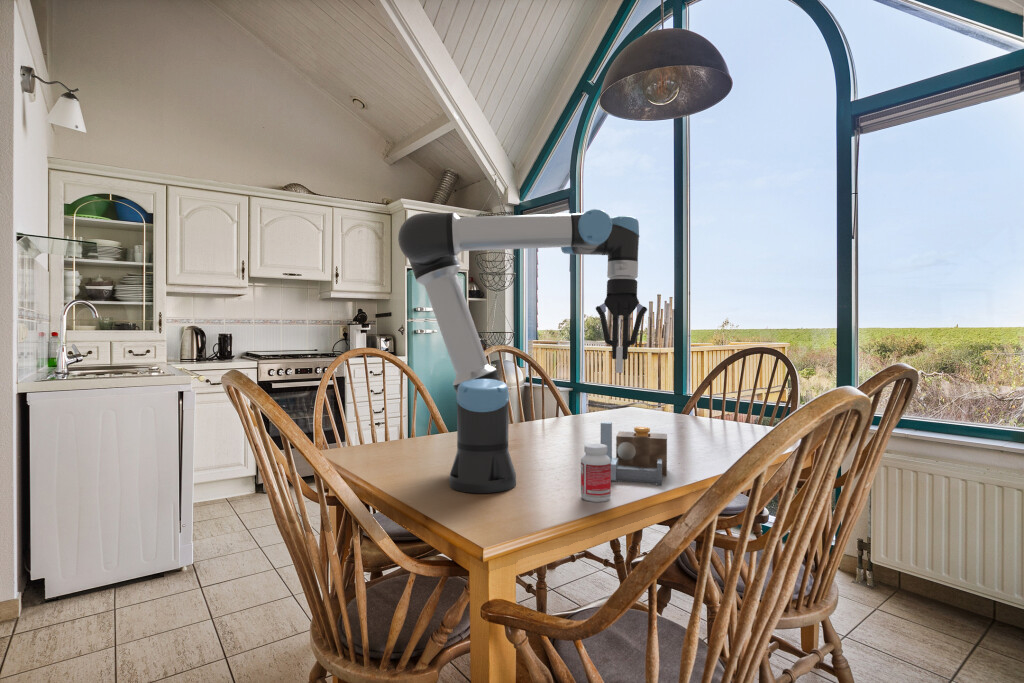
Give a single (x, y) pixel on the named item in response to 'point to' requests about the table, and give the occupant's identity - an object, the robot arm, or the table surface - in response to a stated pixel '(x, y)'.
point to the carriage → (609, 445)
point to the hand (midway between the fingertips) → (619, 372)
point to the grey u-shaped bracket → (640, 474)
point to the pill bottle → (595, 473)
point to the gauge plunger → (642, 431)
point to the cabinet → (641, 450)
